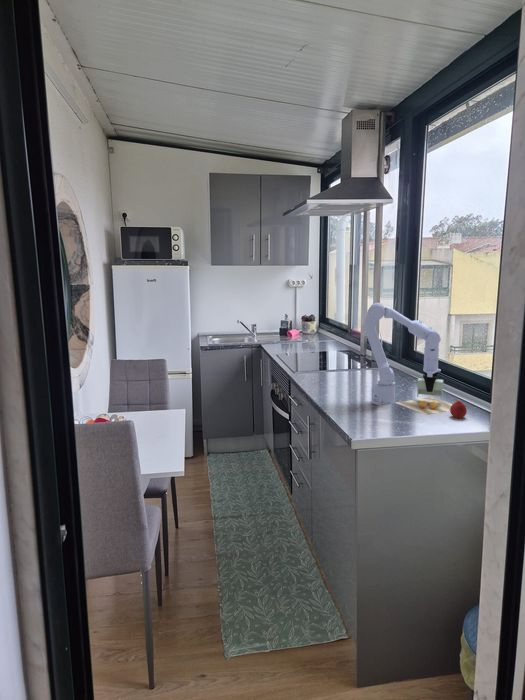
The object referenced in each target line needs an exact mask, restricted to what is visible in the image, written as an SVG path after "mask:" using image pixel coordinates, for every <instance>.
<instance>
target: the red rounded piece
mask: <svg viewBox="0 0 525 700" xmlns="http://www.w3.org/2000/svg"><path fill="white" fill-rule="evenodd" d="M451 404H452V406H451V408H450V411H449V412H450V414H451V416H452V417H454V418H456V419H463V418H464V417H466V415H467V407H466V405H465V404H464V403H463V402H462V401H461V400H460V399H456V401H455V402H454V403H451Z"/></svg>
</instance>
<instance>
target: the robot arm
mask: <svg viewBox="0 0 525 700" xmlns="http://www.w3.org/2000/svg"><path fill="white" fill-rule="evenodd" d="M383 317H384V319H392V320H394V321H396V322H398V323H399V324H400V325H403V326H404V327H405V328H406V327H407V329H408V332H409V334H412V335H413V336H415V337H417V338H419V339H421V340H424V341H425V342H424V351H423V354H424V355H423V369H422V371H423V375H422V378H424V380H425V384H426V390H427V392H432V391H433V387H434V383H435V381H436V379H438V374H439V372H441V371H442V370H441V368H439V356H440V355H439V352H440V342H441V336H440V334H439V333H438V332H437V331H436V330H435V329H433V328H432V327H431V326H427V325H426V324H424V323H423V321H421V320H417V319H416V320H411V319H410V318H408V317H406V316H404V315H403V314H401V313H400V312H398V311H397V310H395V309H394V308H391V307H389V306H387V305H383V304H382V302H381V303H380V302H374V303H372V304H371V305H370V306H369V308H368V310H367V312H366V315H365V320H364V323H363V328H364V332H365V335H366V336H367V337H366V338H367V340H368V342H369V346H370V349H371V352H372V353H373V357H374V359H375V362H376V365H377V369H378V375H379V380H378V381H377V384H374V385H372V387H371V401H370V404H374V405H375V406H381V405H386V404H387V405H389V404H394V403H396V402H395V401H396V400H395V399H396V397H395V393H396V382H395V371H394V370H393V368H391V366H390V364H389V362H388V359H387V356H386V354H385V351H384V348H383V346H382V343H381V339H380V337H379V334H378V331H377V328H376V327H377V324H378V323H379V321H380V320H381V319H382V318H383Z"/></svg>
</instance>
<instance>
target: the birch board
mask: <svg viewBox="0 0 525 700" xmlns="http://www.w3.org/2000/svg"><path fill="white" fill-rule="evenodd" d="M421 401H426V402H427V406H426V407H425V408H422V407H420V402H421ZM433 401H434V402H436V403H437V408H435V409H432V408H431V407H430V403H431V402H433ZM395 404H396V405H397V404H398V405H400V406H402V407H404V408H407V409H410V410H412V411H415V412H418V413H420V414H421V415H422V414H423V415H425V416H427V415H435V414H441V413H445V412H450V408H451V406H452V404H453V403H450V402H447V401H445V400H441V399H437V398H436V397H432V396H430V397H429V396H428V397H423V398H416V399H410V400H404V401H398V402H397V401H396V402H395Z"/></svg>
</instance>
